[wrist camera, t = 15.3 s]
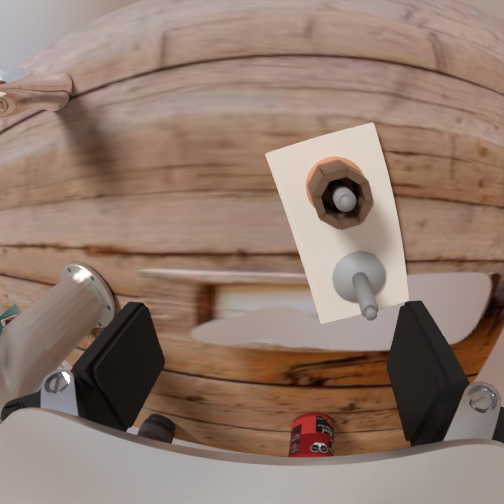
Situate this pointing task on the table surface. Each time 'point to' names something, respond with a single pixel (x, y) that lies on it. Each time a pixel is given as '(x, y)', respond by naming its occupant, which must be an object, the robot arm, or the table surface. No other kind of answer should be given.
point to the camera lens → (157, 429)
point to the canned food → (312, 436)
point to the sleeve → (331, 212)
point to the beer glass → (32, 91)
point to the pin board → (347, 240)
